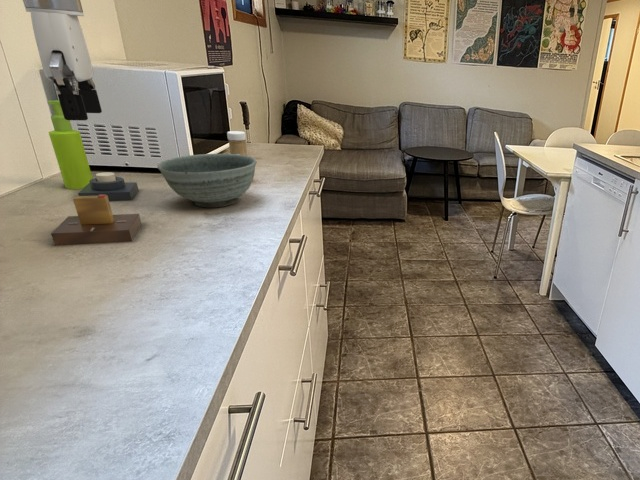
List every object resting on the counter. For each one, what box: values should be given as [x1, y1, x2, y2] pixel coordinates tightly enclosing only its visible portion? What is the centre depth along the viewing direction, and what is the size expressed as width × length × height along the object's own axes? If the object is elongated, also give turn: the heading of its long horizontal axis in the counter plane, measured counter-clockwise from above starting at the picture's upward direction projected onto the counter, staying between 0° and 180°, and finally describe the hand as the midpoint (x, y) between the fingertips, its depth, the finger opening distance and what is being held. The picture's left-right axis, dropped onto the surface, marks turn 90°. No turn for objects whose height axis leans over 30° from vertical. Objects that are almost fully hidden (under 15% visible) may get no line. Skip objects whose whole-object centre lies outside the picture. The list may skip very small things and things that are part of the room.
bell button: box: [95, 171, 116, 182], centre depth 111 cm, size 4×4×2 cm
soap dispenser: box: [47, 99, 94, 190], centre depth 113 cm, size 6×7×20 cm
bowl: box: [157, 153, 257, 208], centre depth 112 cm, size 21×21×10 cm
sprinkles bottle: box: [226, 130, 248, 156], centre depth 129 cm, size 5×5×14 cm
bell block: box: [77, 176, 140, 202], centre depth 112 cm, size 10×9×4 cm
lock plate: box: [50, 213, 143, 247], centre depth 91 cm, size 12×10×3 cm
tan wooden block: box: [72, 194, 114, 225], centre depth 89 cm, size 5×2×5 cm, turn 111°
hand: (84, 116), depth 84 cm, fingers open, 9 cm apart
